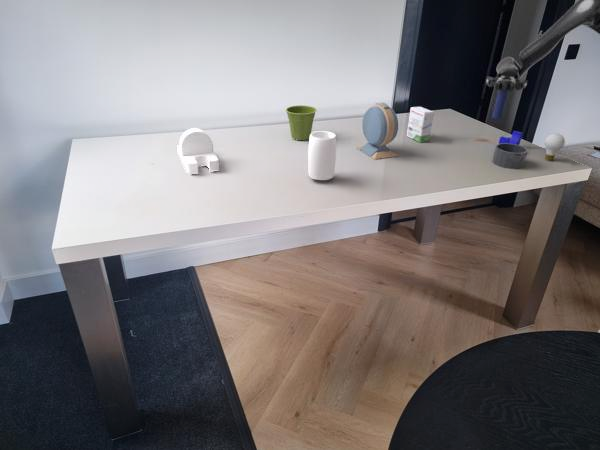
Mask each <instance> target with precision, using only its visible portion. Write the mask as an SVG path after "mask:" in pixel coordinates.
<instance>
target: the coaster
mask: <svg viewBox="0 0 600 450" xmlns="http://www.w3.org/2000/svg"><path fill="white" fill-rule="evenodd" d="M471 140H472V141H473V142H480V143H487V144H494V141H493V140H490V139H488V138H482V137H477V138H476V137H475V138H472V139H471Z"/></svg>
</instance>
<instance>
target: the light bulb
mask: <svg viewBox="0 0 600 450" xmlns="http://www.w3.org/2000/svg"><path fill="white" fill-rule="evenodd" d="M565 144H566V139H565V137H564V136H563V135H562V134H561V133H552V134H549V135H548V136H547V137H546V139H545V141H544V147H545V149H546V151H545V153H546V155H545V158H544V159H545V160H546V161H548V162H553V161H554V160H555V157H556V155H557V154H558V152H559V151H561V150H562V148H564V146H565Z"/></svg>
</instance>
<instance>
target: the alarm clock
mask: <svg viewBox="0 0 600 450" xmlns="http://www.w3.org/2000/svg"><path fill="white" fill-rule="evenodd" d="M361 125H362V127H361V128H362V133H363V136H364V139H365V140H366V141H367V142H366V143H365V144H363V145H360V146H358V147H356V149H357V148H358V149H359V150H358V149H357V150H358V151H360V150H361V151H360V152H362V153H363V152H364V153H363V154H365V153H366V154H367V156H368V155H369V156H370V158H371V157H372V158H371V159H373V160H374V159H376V160H381V159H380V158H382V159H387V158H388V157H389V158H395V157H399V155H398V154H396V153H395V151H393V150H392V149H390V148H389V147H387V145H388V144H390V143H392V142H393V141H394V140H395V139H396V137H397V135H398V131H399V119H398V116H397V113H396V111H395V110H394V109H393V108H392V107H390V105H388V103H385V102H376V103H375V104H374V105H372V106H371V107H369V108H368V109H367V110H366V111H365V112H364V115H363V117H362V123H361ZM366 154H365V155H366ZM369 156H368V157H369Z"/></svg>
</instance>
